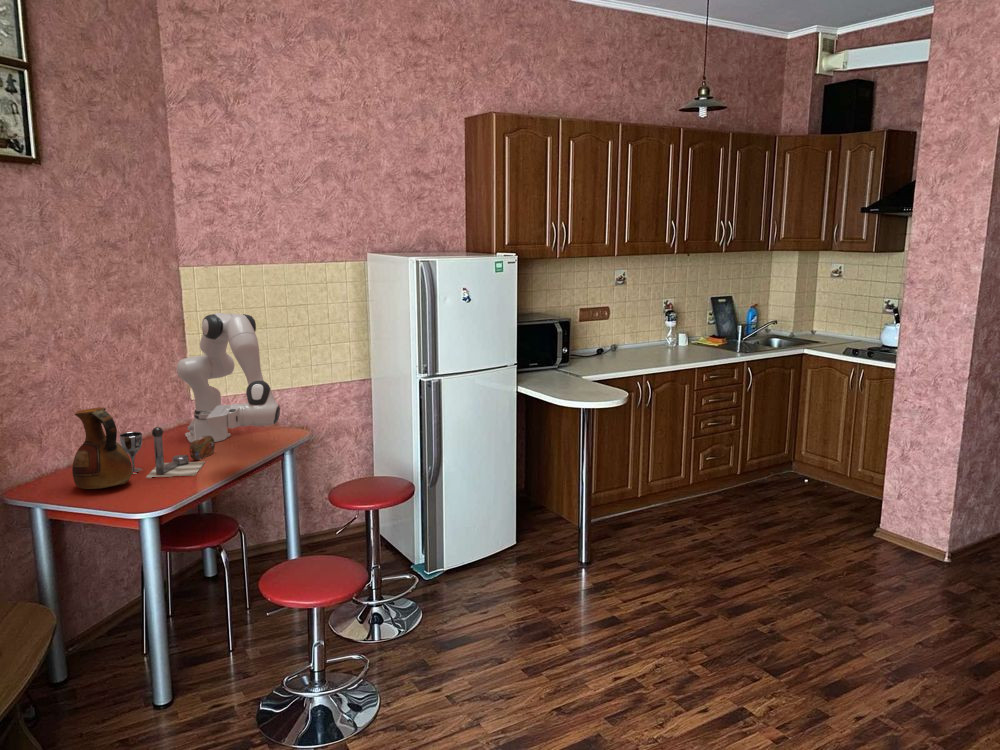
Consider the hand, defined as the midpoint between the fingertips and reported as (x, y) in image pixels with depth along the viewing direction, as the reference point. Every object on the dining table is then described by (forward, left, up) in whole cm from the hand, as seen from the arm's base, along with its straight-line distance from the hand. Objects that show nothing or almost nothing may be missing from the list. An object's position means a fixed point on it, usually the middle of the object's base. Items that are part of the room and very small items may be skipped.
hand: (199, 415), depth 297 cm
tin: (-23, +8, -24) cm, 34 cm away
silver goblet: (-21, -20, -24) cm, 38 cm away
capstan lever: (-13, -8, -23) cm, 27 cm away
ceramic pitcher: (-8, -34, -24) cm, 42 cm away
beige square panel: (-11, -6, -24) cm, 27 cm away
